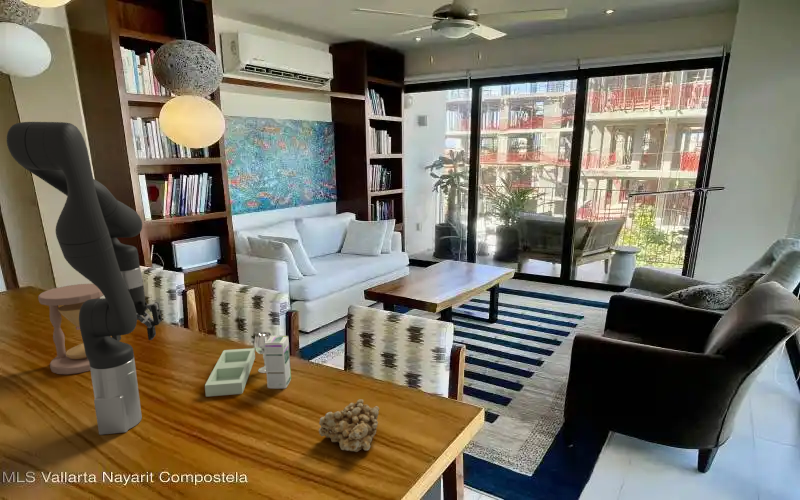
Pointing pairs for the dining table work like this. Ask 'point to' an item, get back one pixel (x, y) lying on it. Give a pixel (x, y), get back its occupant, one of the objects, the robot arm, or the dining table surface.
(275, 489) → the dining table surface
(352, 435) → the mineral formation
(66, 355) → the hourglass
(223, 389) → the tray
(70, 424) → the dining table surface
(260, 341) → the wineglass
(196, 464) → the dining table surface
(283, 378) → the syrup box
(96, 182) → the robot arm
